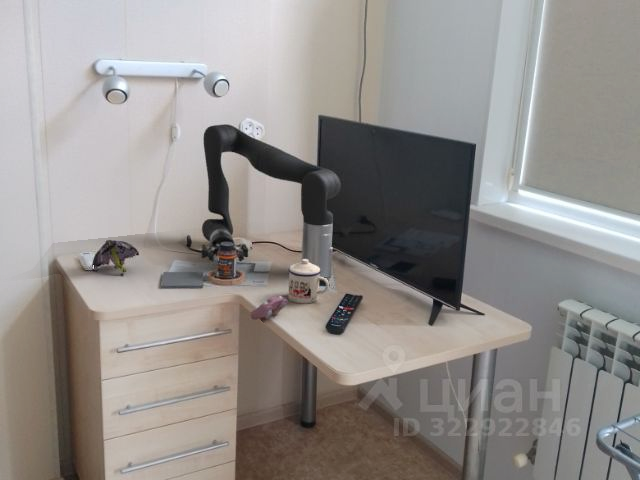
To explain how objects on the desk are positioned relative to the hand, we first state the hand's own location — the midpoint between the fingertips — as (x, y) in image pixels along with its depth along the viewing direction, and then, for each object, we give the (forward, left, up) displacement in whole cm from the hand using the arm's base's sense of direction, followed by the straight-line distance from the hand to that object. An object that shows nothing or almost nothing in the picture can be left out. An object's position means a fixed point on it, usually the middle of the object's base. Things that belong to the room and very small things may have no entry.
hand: (226, 258), depth 207 cm
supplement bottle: (0, 0, -7) cm, 7 cm away
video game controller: (-11, +29, -7) cm, 32 cm away
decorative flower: (+34, -6, -7) cm, 35 cm away
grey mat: (+13, +2, -7) cm, 15 cm away
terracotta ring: (0, 0, -7) cm, 7 cm away
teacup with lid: (-23, +17, -7) cm, 29 cm away
